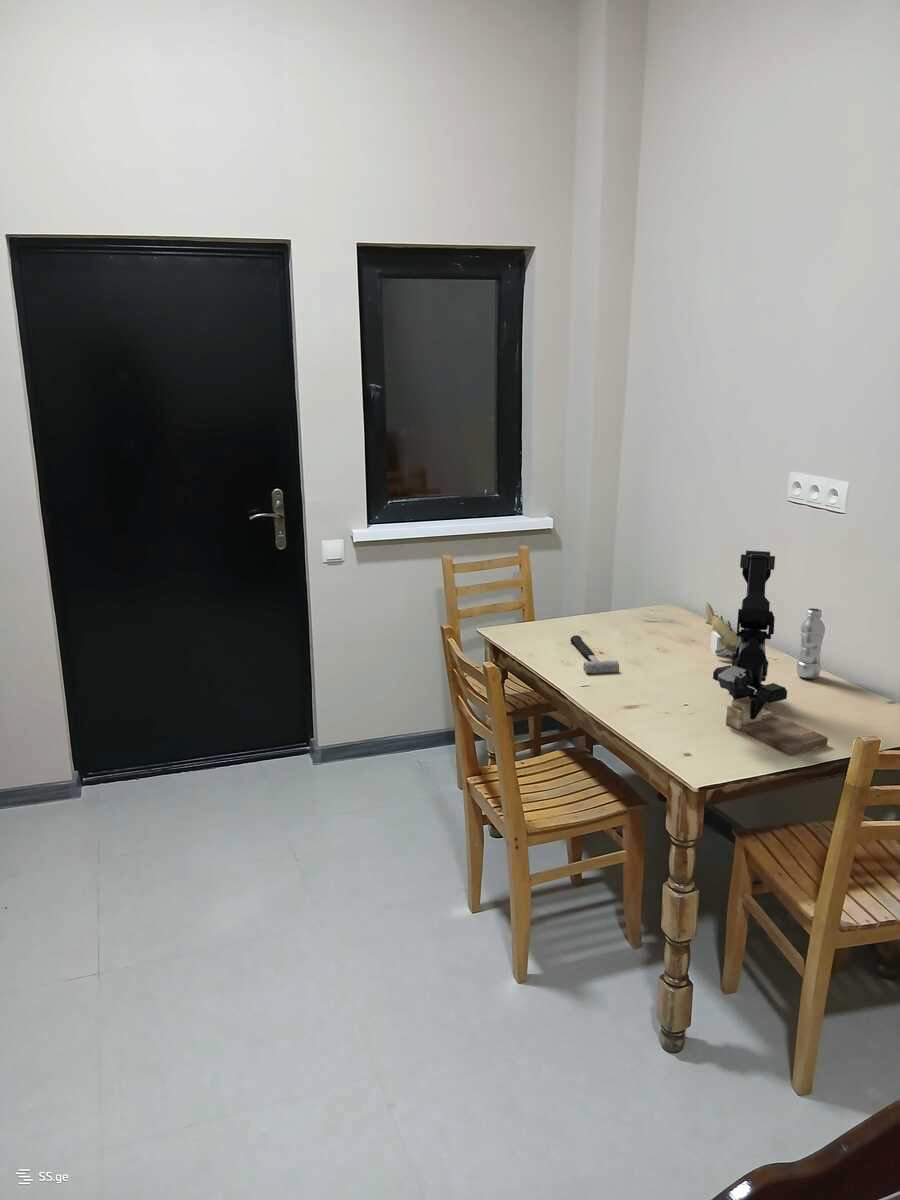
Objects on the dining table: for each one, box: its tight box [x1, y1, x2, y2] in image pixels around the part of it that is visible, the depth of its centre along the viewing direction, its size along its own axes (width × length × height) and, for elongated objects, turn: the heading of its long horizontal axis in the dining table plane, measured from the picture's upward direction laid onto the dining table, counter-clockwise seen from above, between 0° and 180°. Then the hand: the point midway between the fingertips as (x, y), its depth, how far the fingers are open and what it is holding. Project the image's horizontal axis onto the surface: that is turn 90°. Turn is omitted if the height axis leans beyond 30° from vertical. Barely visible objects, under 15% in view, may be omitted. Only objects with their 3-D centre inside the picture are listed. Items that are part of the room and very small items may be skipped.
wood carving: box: [705, 601, 740, 657], centre depth 261 cm, size 9×35×11 cm, turn 179°
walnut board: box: [725, 708, 829, 757], centre depth 201 cm, size 20×12×2 cm, turn 27°
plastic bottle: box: [796, 608, 826, 680], centre depth 236 cm, size 6×7×20 cm
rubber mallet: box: [570, 635, 620, 674], centre depth 257 cm, size 10×4×30 cm
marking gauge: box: [725, 697, 773, 729], centre depth 205 cm, size 4×12×6 cm, turn 117°
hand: (746, 716), depth 204 cm, fingers closed on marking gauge, 4 cm apart
